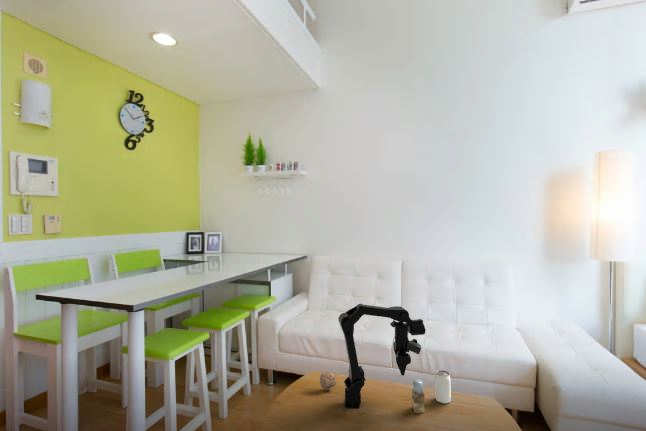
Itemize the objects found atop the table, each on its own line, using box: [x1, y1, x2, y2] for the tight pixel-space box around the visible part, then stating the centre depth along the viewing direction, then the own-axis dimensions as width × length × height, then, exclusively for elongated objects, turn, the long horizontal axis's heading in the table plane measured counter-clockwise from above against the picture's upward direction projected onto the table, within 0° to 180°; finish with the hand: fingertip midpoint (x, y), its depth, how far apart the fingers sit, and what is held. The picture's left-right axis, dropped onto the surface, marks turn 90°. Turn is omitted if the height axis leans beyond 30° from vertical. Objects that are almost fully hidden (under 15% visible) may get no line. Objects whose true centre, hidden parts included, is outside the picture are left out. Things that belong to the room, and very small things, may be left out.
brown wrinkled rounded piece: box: [319, 371, 337, 391], centre depth 162 cm, size 8×6×8 cm
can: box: [434, 369, 452, 405], centre depth 151 cm, size 6×6×12 cm
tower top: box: [411, 388, 425, 404], centre depth 144 cm, size 4×4×4 cm
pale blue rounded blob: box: [412, 378, 424, 394], centre depth 144 cm, size 4×4×4 cm
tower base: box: [412, 399, 425, 414], centre depth 144 cm, size 4×4×4 cm
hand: (401, 370), depth 152 cm, fingers open, 9 cm apart
